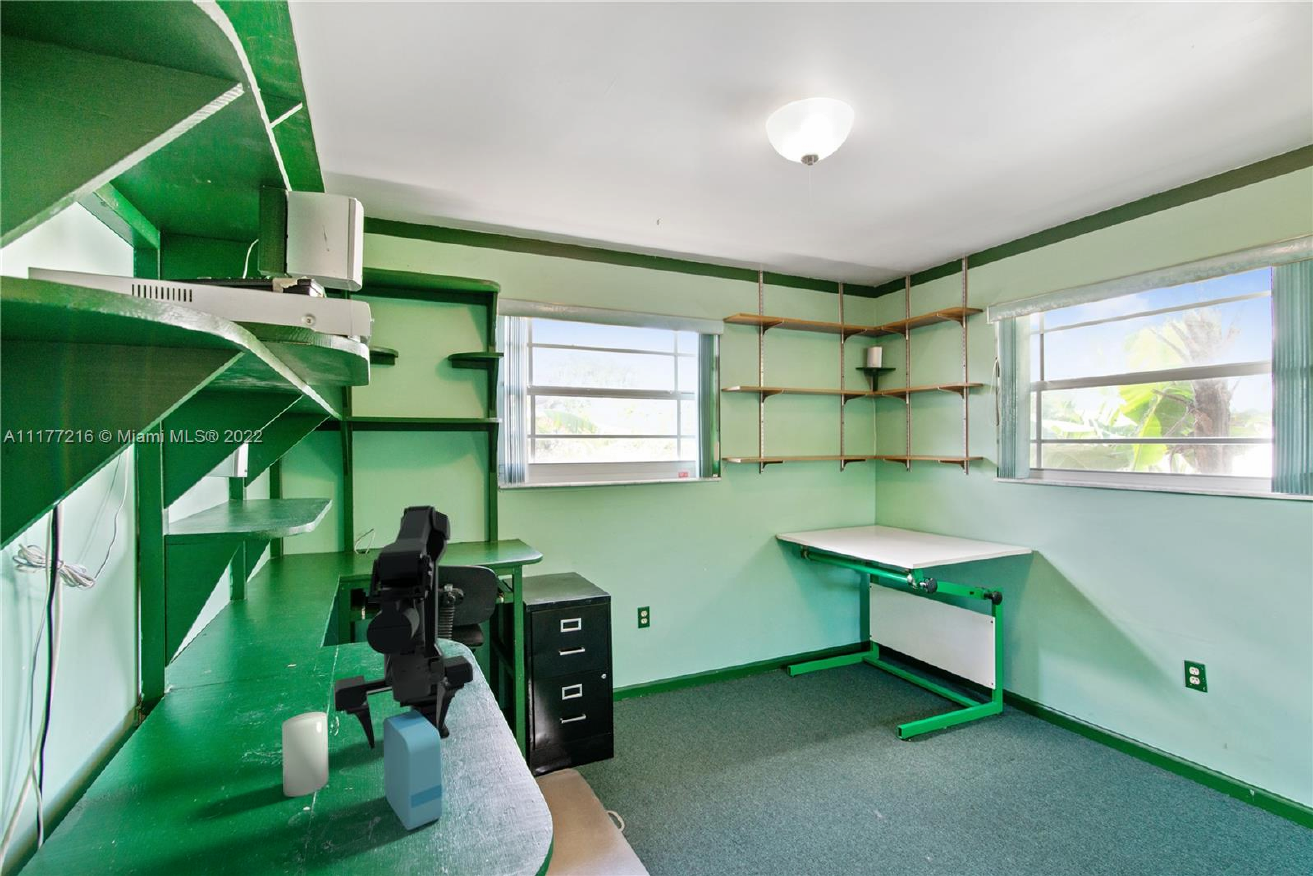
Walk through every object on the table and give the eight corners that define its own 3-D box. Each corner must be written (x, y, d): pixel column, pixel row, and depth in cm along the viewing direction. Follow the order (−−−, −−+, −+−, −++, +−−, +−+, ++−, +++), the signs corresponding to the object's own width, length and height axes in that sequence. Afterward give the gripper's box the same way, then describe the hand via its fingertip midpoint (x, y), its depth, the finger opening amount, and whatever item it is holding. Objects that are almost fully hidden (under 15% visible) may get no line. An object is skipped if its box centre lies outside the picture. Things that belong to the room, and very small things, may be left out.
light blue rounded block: (443, 821, 81) (441, 732, 81) (409, 836, 78) (407, 743, 78) (416, 786, 90) (414, 706, 90) (384, 798, 87) (382, 715, 88)
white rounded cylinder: (283, 783, 92) (282, 718, 93) (327, 771, 95) (326, 708, 96) (282, 801, 87) (281, 732, 88) (329, 788, 90) (327, 722, 91)
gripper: (335, 661, 77) (338, 783, 76) (480, 634, 86) (484, 743, 86) (332, 640, 86) (334, 749, 86) (463, 618, 96) (466, 716, 95)
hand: (406, 739), depth 88 cm, fingers open, 9 cm apart
